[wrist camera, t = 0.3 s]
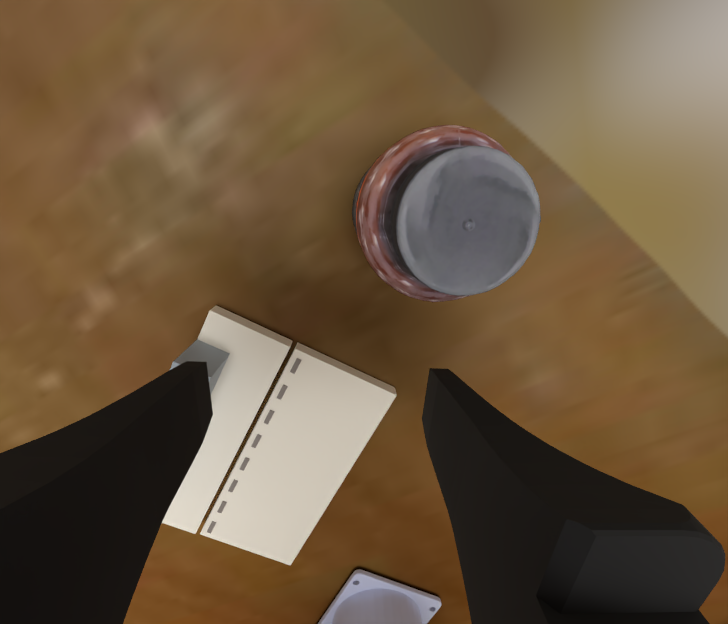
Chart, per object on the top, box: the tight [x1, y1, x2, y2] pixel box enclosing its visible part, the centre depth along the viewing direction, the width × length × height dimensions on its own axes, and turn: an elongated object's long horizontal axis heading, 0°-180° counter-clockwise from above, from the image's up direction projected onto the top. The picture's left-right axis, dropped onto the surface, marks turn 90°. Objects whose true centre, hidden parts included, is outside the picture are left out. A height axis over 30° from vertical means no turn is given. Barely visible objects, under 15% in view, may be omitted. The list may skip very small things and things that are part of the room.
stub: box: [162, 305, 293, 534], centre depth 22 cm, size 16×5×4 cm, turn 152°
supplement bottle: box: [352, 125, 541, 302], centre depth 15 cm, size 6×6×11 cm
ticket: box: [200, 342, 397, 565], centre depth 25 cm, size 16×7×1 cm, turn 152°
